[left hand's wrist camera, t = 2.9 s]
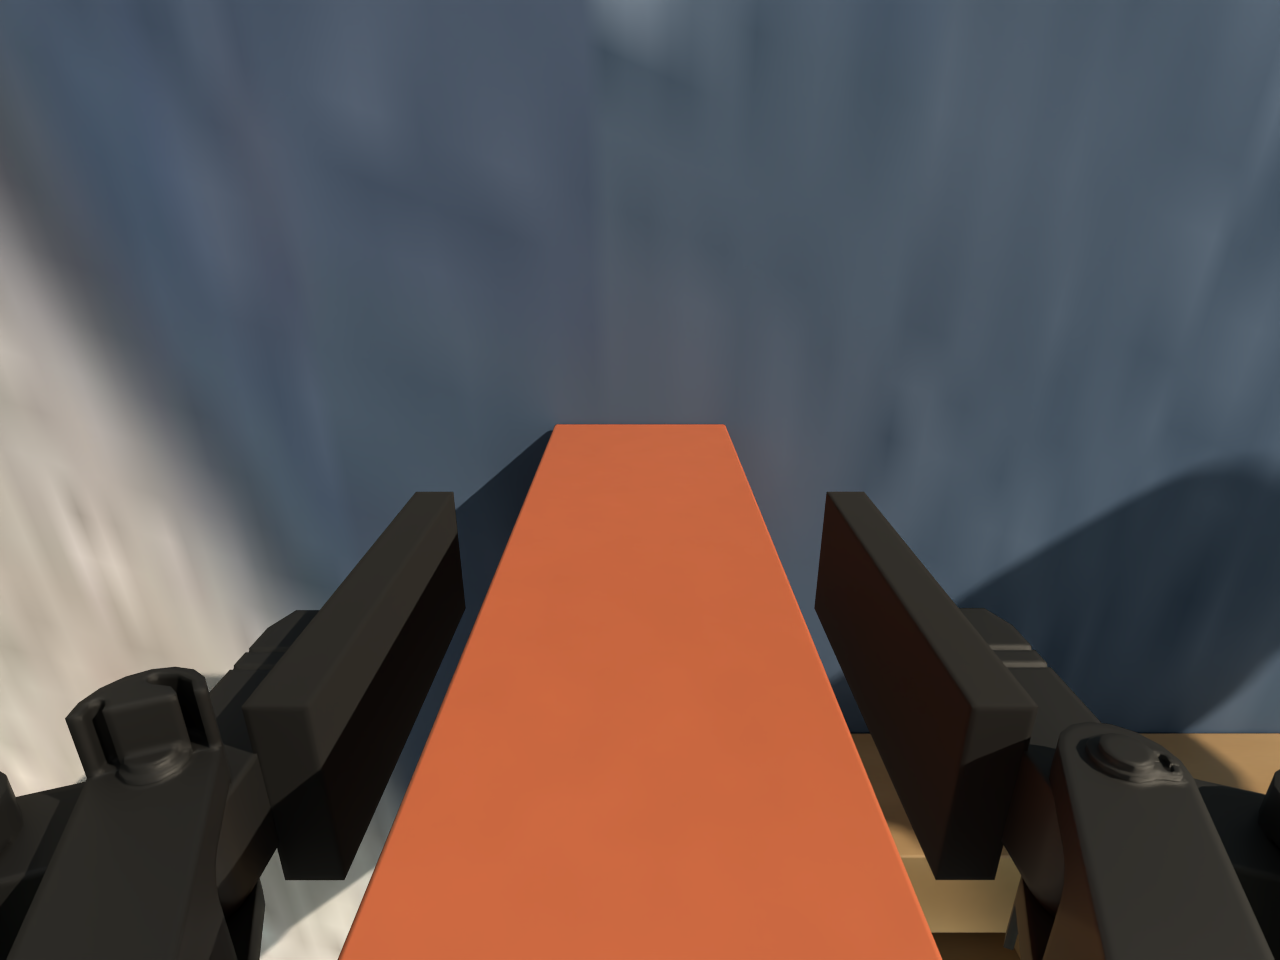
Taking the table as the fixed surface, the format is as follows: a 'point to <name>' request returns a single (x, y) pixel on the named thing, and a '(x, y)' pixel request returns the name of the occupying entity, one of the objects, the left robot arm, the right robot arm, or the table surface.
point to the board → (981, 909)
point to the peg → (640, 742)
